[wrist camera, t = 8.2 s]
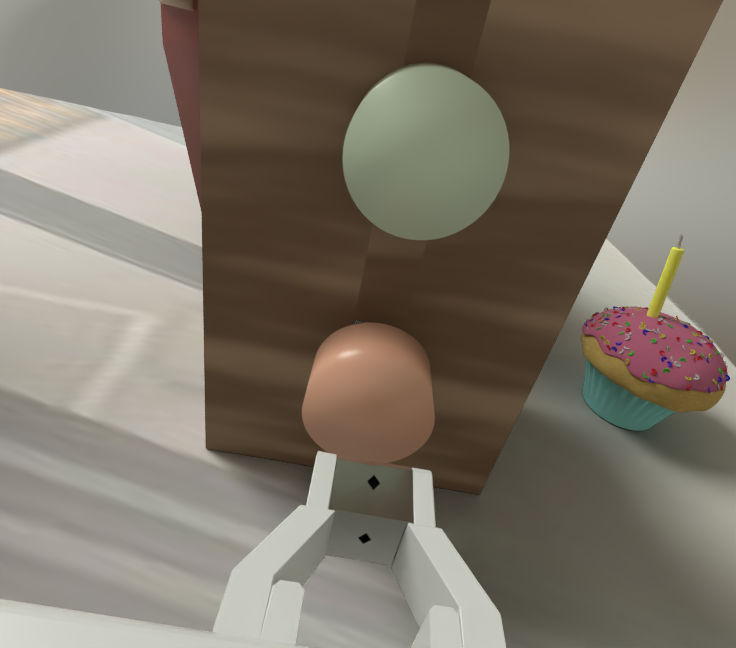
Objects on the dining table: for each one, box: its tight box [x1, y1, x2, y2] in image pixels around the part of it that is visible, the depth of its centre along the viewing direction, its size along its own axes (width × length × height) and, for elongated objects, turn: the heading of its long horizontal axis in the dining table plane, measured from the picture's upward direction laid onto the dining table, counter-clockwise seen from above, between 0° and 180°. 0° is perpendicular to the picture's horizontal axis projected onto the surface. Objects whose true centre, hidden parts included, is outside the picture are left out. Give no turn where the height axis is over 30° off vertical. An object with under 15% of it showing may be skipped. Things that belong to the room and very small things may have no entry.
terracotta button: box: [302, 321, 435, 463], centre depth 18 cm, size 6×4×4 cm
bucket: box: [159, 0, 202, 212], centre depth 37 cm, size 24×22×25 cm
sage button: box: [342, 63, 509, 240], centre depth 15 cm, size 6×4×4 cm
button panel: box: [198, 0, 723, 495], centre depth 19 cm, size 9×14×30 cm, turn 87°
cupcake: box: [581, 234, 730, 431], centre depth 29 cm, size 9×8×12 cm
